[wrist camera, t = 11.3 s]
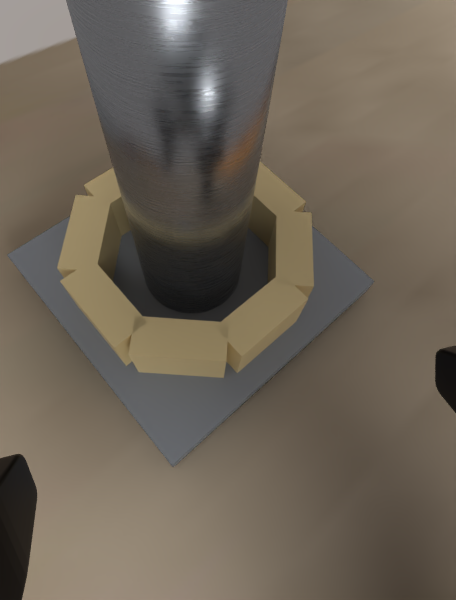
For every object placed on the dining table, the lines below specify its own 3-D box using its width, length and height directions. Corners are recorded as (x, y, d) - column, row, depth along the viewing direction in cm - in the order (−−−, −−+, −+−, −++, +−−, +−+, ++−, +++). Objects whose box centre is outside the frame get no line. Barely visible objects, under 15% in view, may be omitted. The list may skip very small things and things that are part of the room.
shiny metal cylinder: (259, 273, 19) (350, -69, 7) (186, 332, 18) (152, 27, 6) (197, 213, 20) (190, -166, 9) (124, 264, 19) (-7, -104, 7)
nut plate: (367, 290, 20) (397, 254, 17) (173, 466, 17) (166, 462, 13) (206, 144, 23) (206, 91, 20) (16, 265, 20) (-21, 223, 17)
